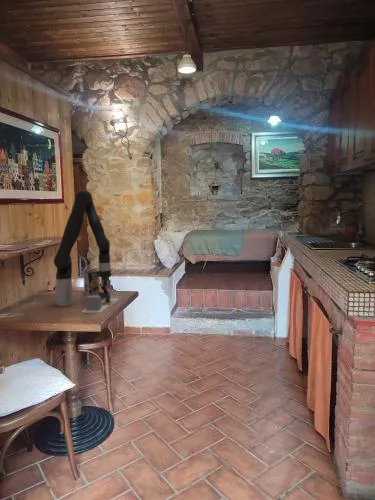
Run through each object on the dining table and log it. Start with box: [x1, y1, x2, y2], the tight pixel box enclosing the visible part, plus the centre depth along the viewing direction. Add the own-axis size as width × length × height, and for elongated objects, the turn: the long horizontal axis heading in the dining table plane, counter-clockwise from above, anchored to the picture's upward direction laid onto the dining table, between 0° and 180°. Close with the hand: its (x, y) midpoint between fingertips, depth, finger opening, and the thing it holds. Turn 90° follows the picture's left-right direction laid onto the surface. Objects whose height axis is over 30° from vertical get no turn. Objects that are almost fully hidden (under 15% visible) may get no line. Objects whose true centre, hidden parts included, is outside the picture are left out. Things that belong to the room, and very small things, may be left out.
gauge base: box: [80, 295, 120, 314], centre depth 234 cm, size 12×31×9 cm, turn 170°
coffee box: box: [83, 270, 101, 296], centre depth 268 cm, size 9×6×16 cm
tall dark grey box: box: [97, 291, 111, 306], centre depth 233 cm, size 10×13×6 cm
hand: (106, 295), depth 242 cm, fingers closed
